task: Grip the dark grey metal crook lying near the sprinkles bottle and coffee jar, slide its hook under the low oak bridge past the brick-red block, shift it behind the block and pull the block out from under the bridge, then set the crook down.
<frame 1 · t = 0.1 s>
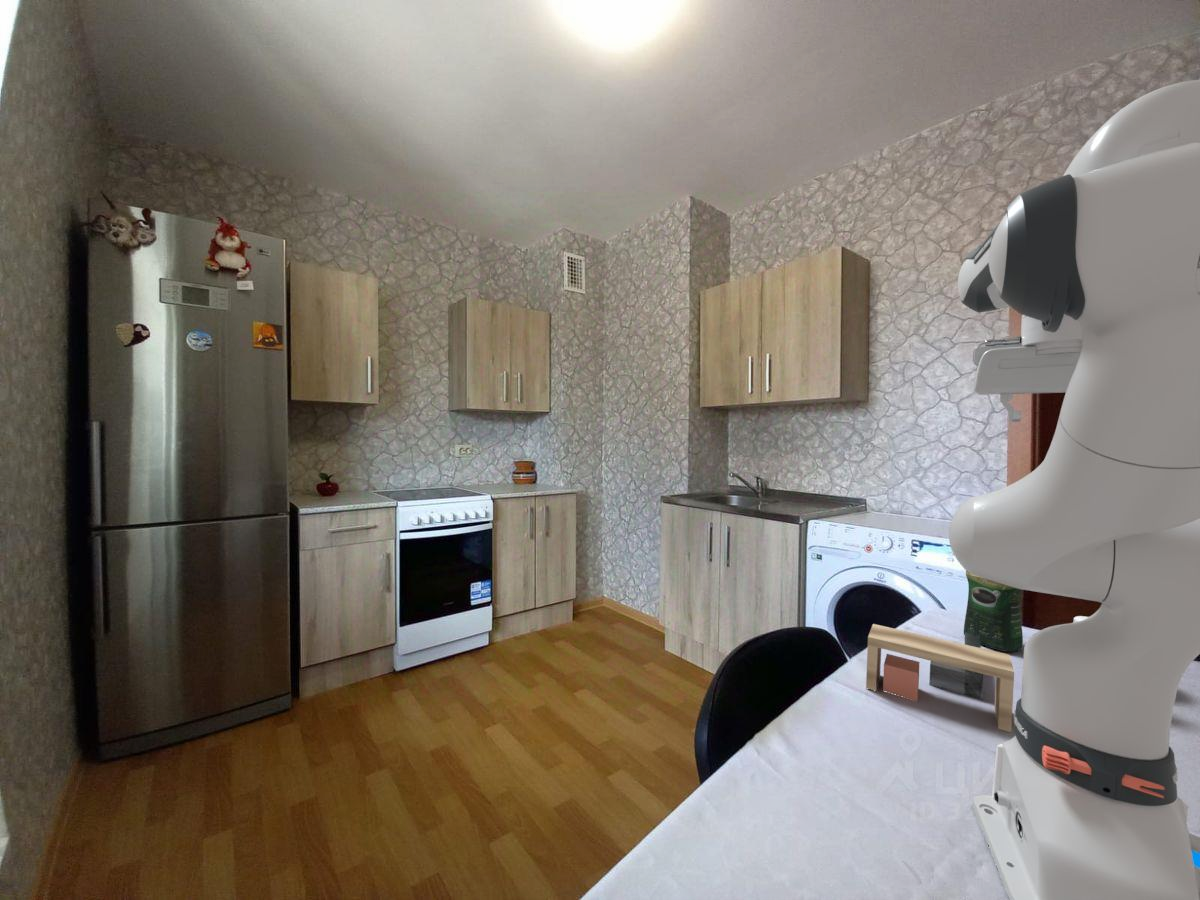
hand: (1053, 421, 74), 48 cm above the table, tool pointing down, fingers open, 8 cm apart
bridge: (933, 699, 80), on the table
coffee jar: (991, 644, 102), on the table
sprinkles bottle: (1087, 696, 82), on the table
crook: (971, 667, 91), on the table
block: (900, 690, 83), on the table
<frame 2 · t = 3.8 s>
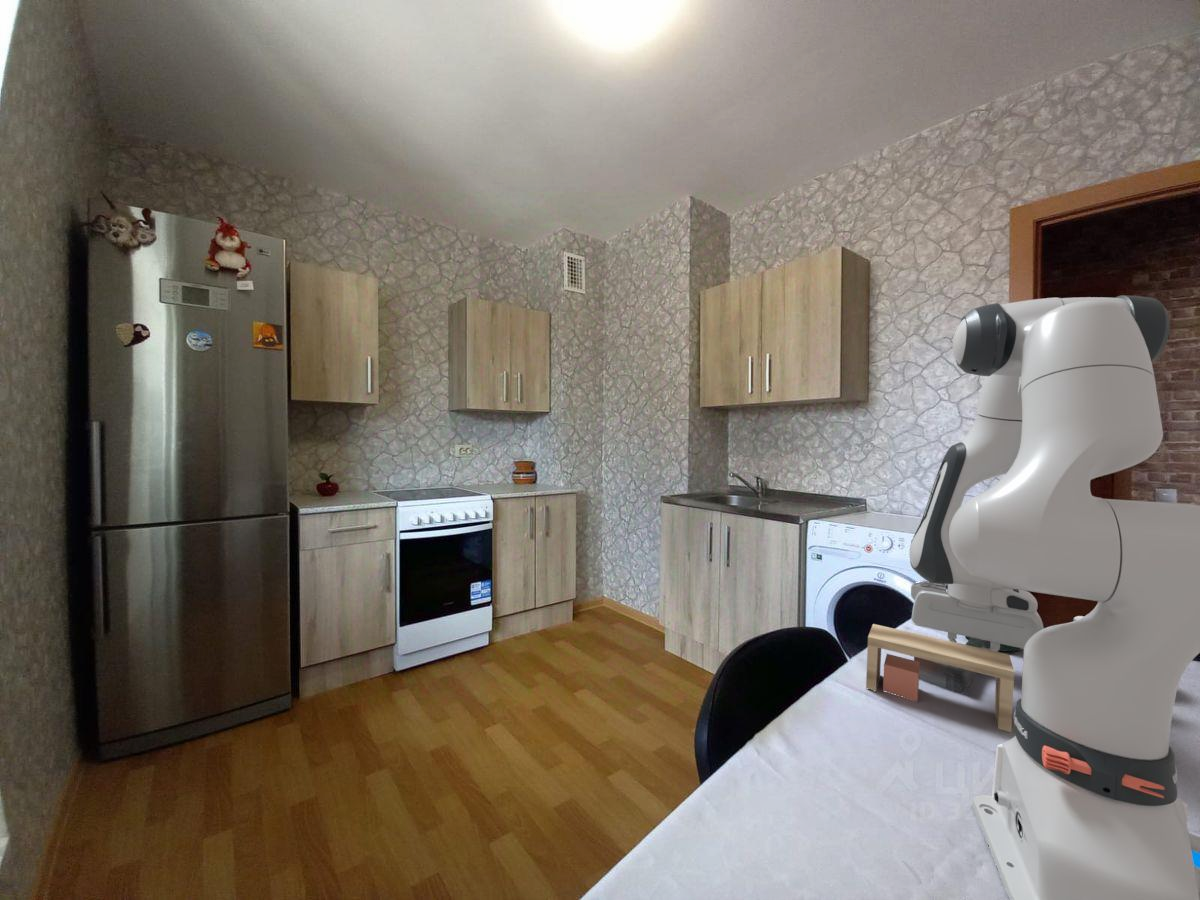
hand: (972, 658, 91), 2 cm above the table, tool pointing down, fingers closed on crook, 3 cm apart
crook: (971, 666, 91), on the table, touching gripper
everything else where it was.
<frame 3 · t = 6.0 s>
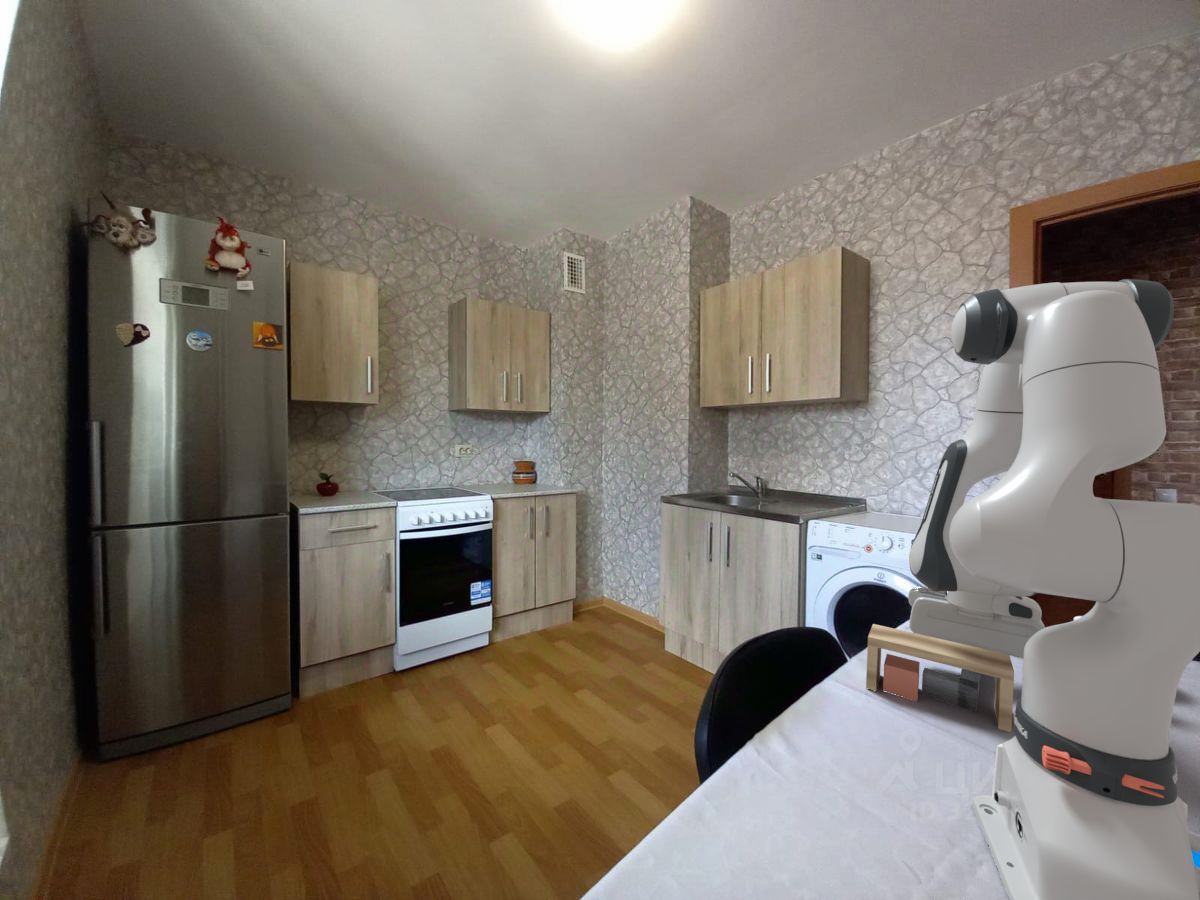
hand: (972, 668, 87), 2 cm above the table, tool pointing down, fingers closed on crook, 3 cm apart
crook: (972, 677, 87), on the table, touching gripper
everything else where it was.
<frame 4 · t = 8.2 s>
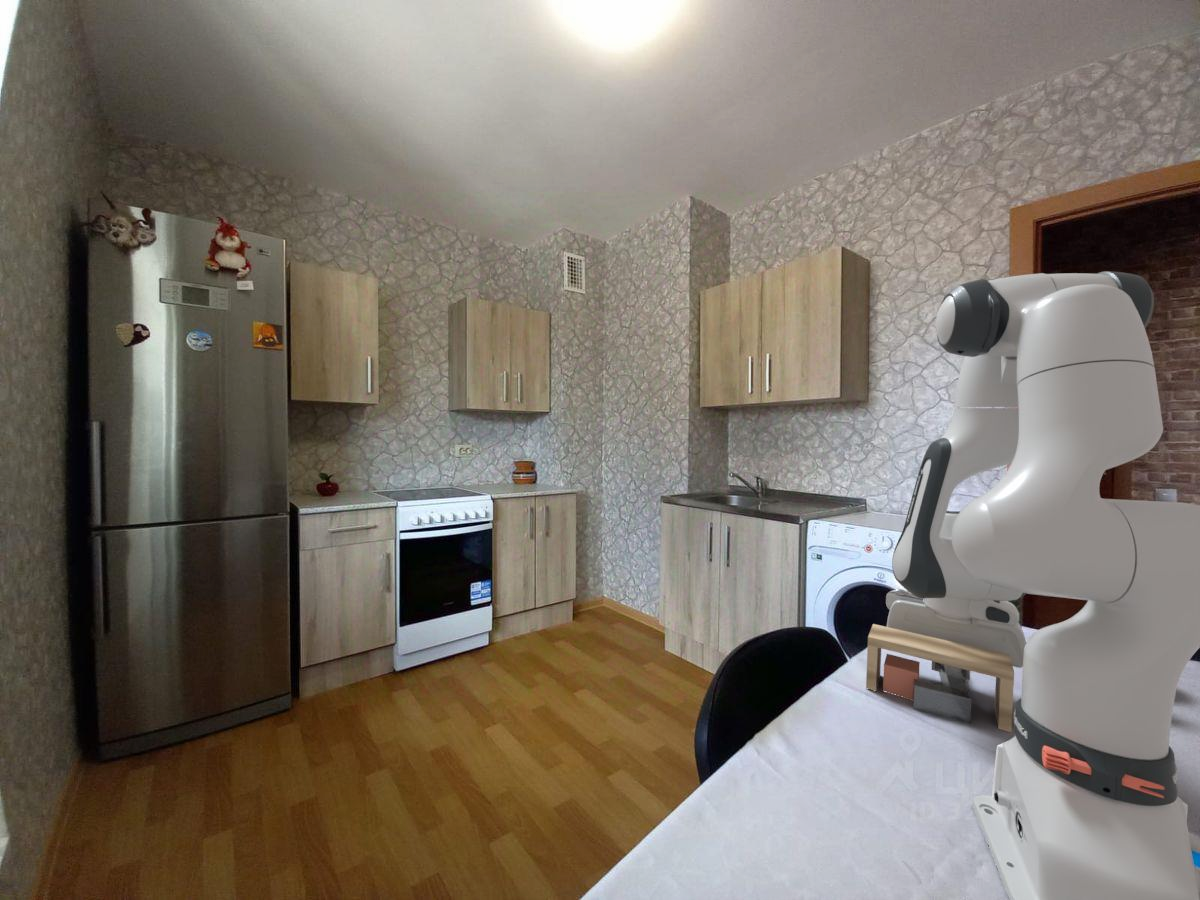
hand: (950, 673, 85), 2 cm above the table, tool pointing down, fingers closed on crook, 3 cm apart
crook: (949, 682, 85), on the table, touching gripper
everything else where it was.
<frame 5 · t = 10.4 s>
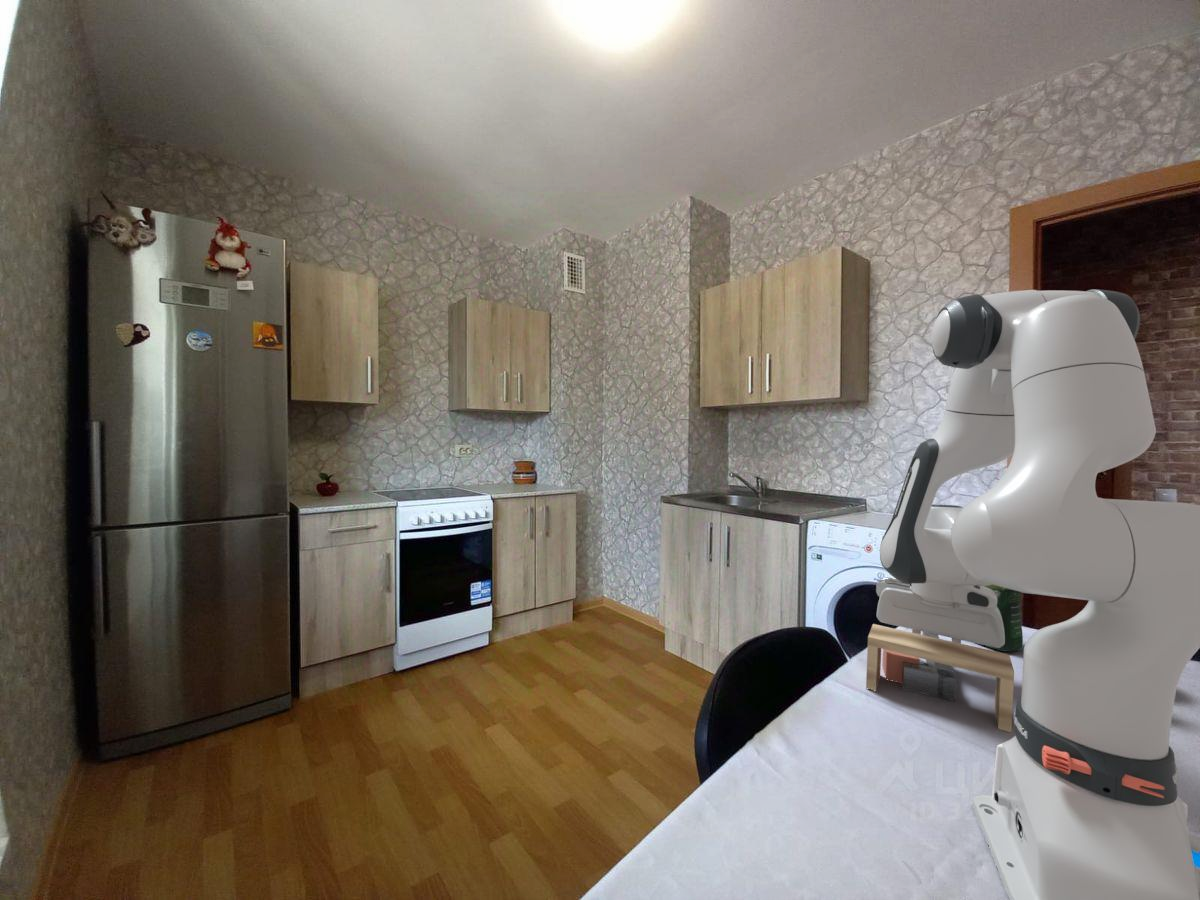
hand: (935, 655, 91), 2 cm above the table, tool pointing down, fingers closed on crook, 3 cm apart
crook: (934, 664, 92), on the table, touching gripper
block: (899, 676, 87), on the table
everything else where it was.
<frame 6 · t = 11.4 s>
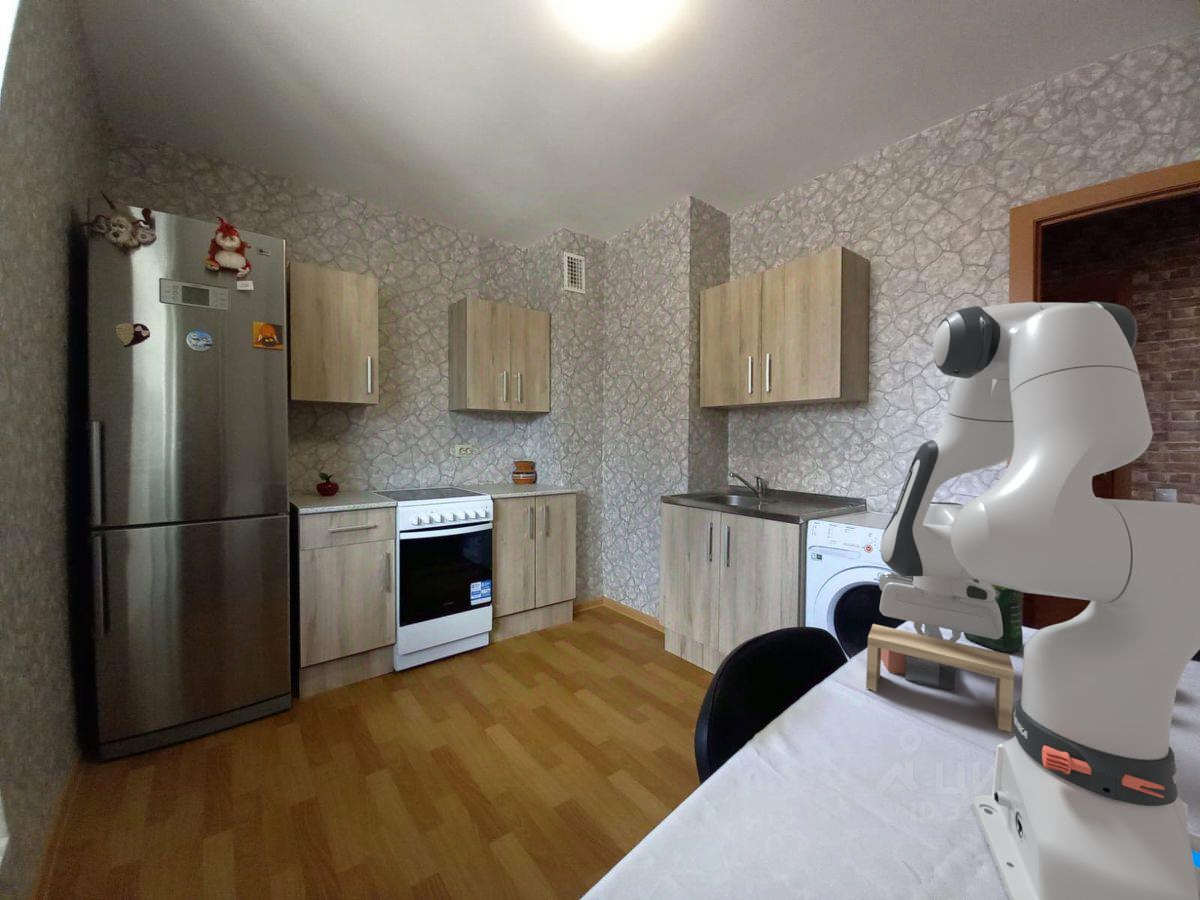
hand: (936, 646, 95), 2 cm above the table, tool pointing down, fingers closed on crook, 3 cm apart
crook: (935, 657, 95), on the table, touching block, gripper
block: (898, 667, 91), on the table, touching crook
everything else where it was.
when the fingers open (2 cm above the table, at t = 12.8 s): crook stays where it is, on the table.
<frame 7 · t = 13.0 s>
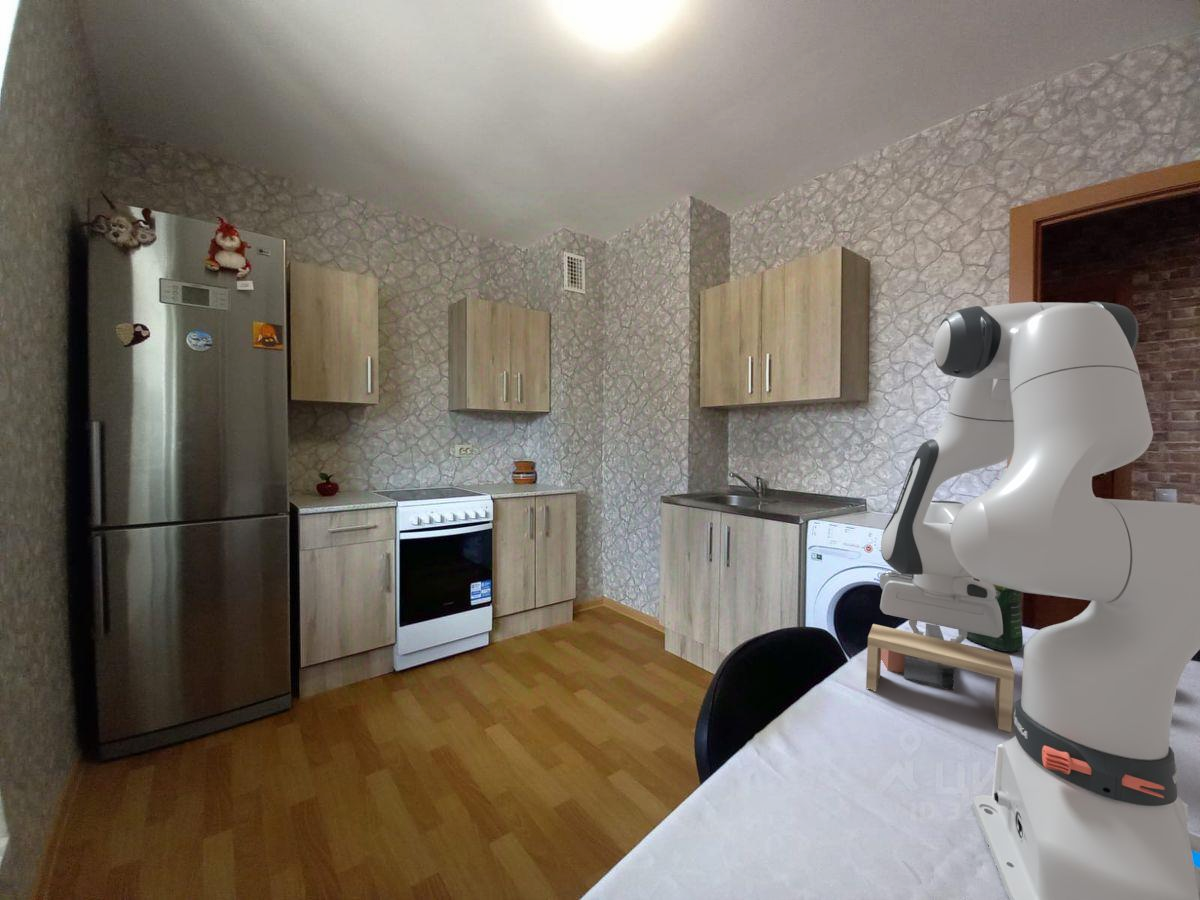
hand: (936, 645, 95), 2 cm above the table, tool pointing down, fingers open, 5 cm apart
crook: (936, 657, 95), on the table
block: (898, 666, 91), on the table
everything else where it was.
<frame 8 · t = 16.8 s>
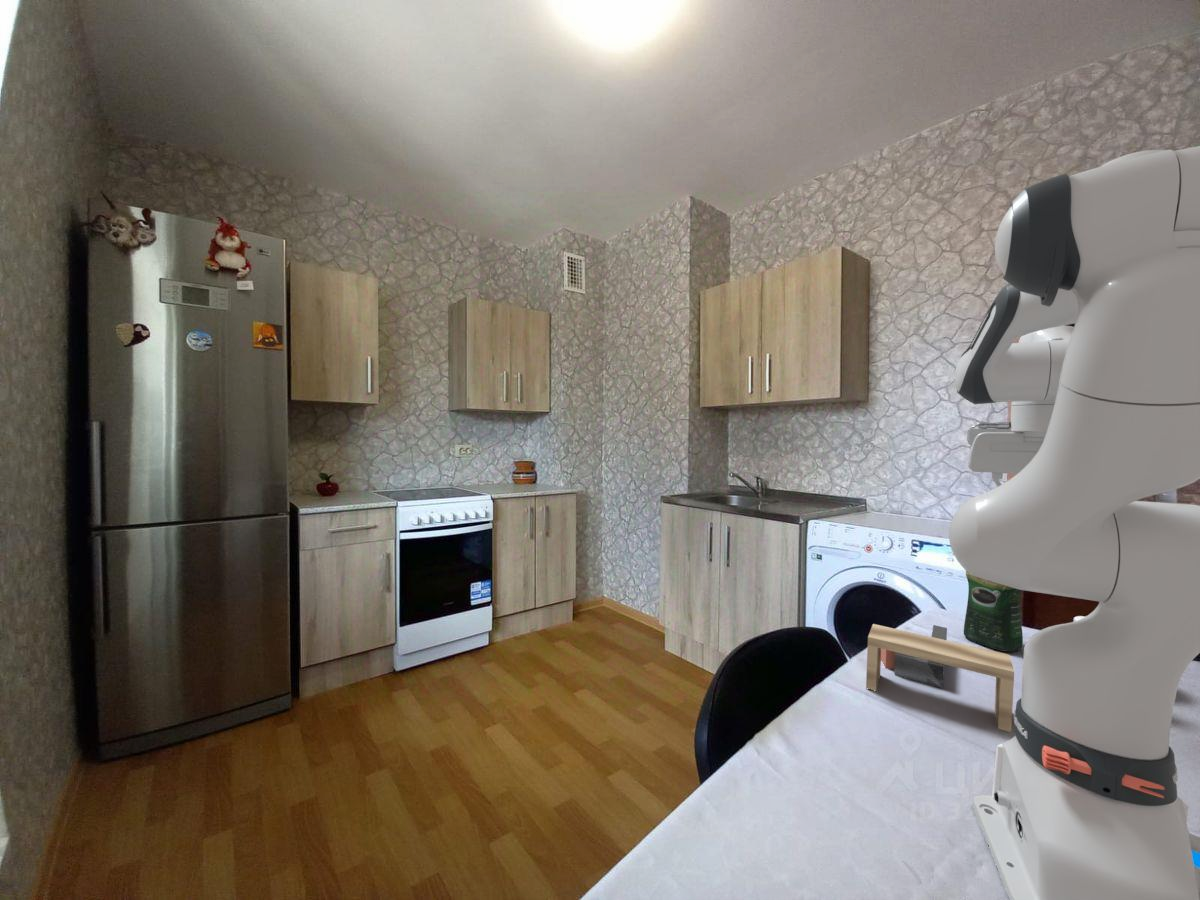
hand: (1039, 500, 82), 34 cm above the table, tool pointing down, fingers open, 8 cm apart
at the end: block inside the target area (4.9 cm from its centre), on the table; the gripper is holding nothing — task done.
